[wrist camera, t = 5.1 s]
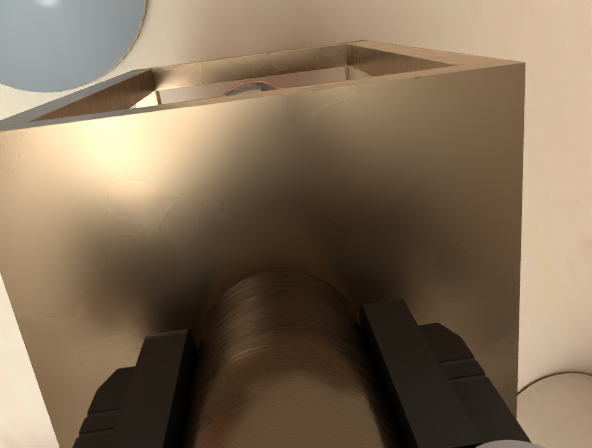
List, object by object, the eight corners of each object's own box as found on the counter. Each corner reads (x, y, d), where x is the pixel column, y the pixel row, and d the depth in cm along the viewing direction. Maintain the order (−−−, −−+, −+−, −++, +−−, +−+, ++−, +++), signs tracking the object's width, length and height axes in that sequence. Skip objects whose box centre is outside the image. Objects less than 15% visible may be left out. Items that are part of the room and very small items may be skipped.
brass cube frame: (363, 40, 21) (936, 118, 3) (378, 250, 25) (724, 866, 7) (133, 70, 21) (-530, 321, 3) (178, 278, 24) (-31, 1000, 6)
